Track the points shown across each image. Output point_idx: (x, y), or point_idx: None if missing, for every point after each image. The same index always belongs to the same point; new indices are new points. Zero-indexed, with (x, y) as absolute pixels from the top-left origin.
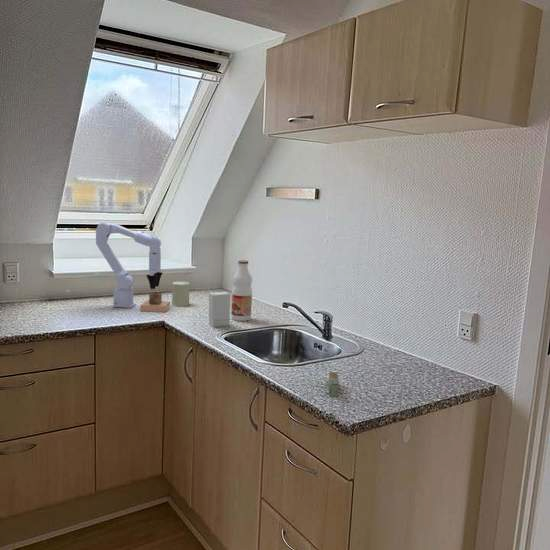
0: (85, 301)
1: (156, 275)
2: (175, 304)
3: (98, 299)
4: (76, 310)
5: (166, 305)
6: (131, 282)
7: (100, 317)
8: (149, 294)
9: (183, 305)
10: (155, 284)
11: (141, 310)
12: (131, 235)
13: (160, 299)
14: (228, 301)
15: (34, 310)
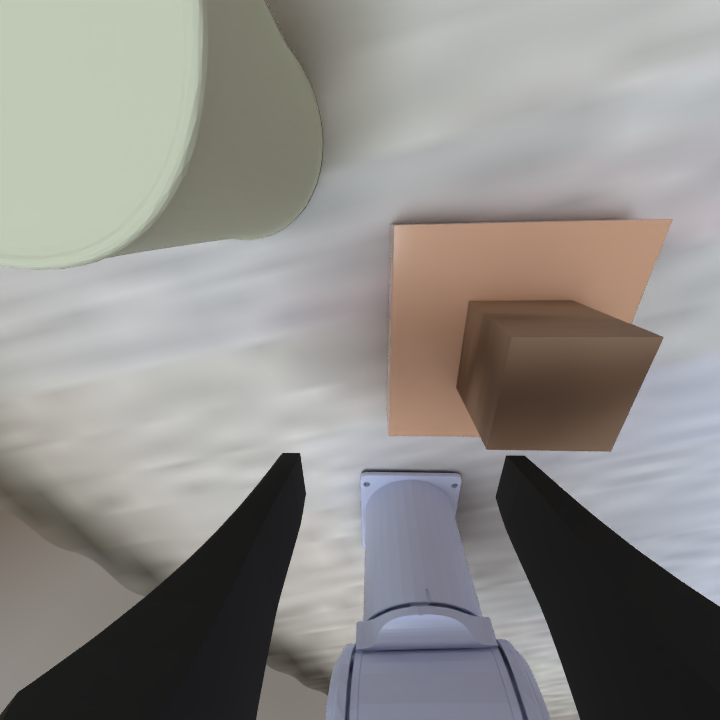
0: (340, 634)
1: (229, 711)
2: (312, 180)
3: (281, 613)
4: (526, 626)
5: (579, 221)
6: (488, 713)
7: (703, 541)
8: (611, 447)
9: (304, 72)
10: (584, 509)
11: None
12: None
13: (542, 312)
14: None
15: None
